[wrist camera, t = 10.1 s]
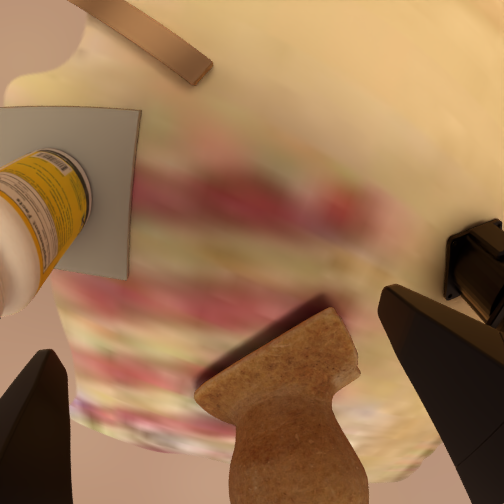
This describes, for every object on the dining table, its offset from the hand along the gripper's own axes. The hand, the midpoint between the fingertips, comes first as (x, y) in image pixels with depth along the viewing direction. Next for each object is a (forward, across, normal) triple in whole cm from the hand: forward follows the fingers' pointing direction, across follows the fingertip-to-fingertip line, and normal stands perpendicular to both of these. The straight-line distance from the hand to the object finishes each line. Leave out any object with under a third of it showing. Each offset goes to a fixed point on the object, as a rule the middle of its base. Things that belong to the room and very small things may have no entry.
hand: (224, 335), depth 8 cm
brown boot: (+11, -6, +18) cm, 22 cm away
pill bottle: (+14, +9, 0) cm, 16 cm away
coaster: (+14, +9, 0) cm, 17 cm away
